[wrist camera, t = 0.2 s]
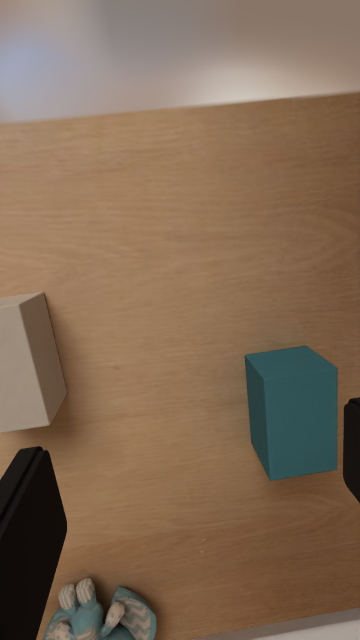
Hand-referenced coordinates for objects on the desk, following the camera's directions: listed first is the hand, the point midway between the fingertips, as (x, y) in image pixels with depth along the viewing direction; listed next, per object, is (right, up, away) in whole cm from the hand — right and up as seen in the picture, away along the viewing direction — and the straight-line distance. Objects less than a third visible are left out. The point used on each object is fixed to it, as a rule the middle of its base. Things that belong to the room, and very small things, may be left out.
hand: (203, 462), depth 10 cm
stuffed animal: (-8, -23, +21) cm, 32 cm away
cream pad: (-12, +2, +14) cm, 19 cm away
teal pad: (+7, -2, +17) cm, 18 cm away
